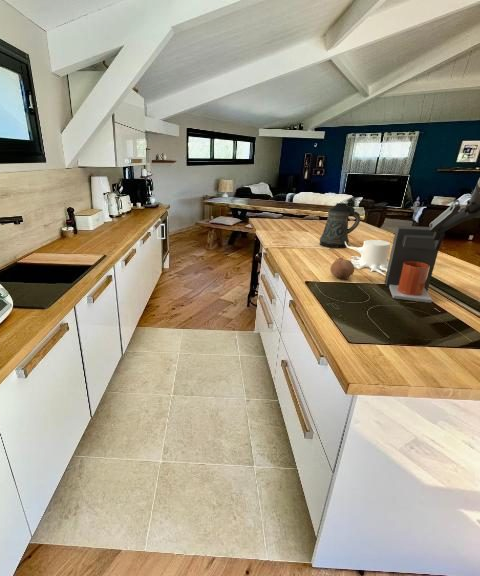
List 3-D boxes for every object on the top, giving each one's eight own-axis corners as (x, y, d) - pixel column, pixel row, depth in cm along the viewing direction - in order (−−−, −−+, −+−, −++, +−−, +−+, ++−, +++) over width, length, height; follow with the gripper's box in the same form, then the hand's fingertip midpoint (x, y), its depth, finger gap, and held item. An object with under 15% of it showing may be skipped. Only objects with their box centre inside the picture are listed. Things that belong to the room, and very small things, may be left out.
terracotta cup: (419, 289, 121) (427, 262, 117) (424, 297, 115) (432, 268, 111) (395, 286, 125) (402, 260, 120) (399, 294, 118) (405, 266, 114)
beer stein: (315, 242, 200) (320, 202, 191) (346, 241, 199) (352, 201, 190) (324, 248, 185) (330, 205, 176) (358, 248, 184) (365, 204, 175)
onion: (332, 281, 143) (329, 260, 144) (355, 278, 139) (351, 256, 140) (331, 281, 134) (328, 258, 135) (356, 277, 130) (352, 254, 131)
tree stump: (332, 265, 155) (335, 243, 151) (352, 253, 174) (356, 233, 169) (395, 277, 137) (401, 252, 133) (411, 263, 155) (416, 240, 151)
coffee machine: (423, 286, 127) (439, 227, 119) (434, 303, 112) (453, 237, 103) (384, 282, 133) (396, 225, 124) (389, 297, 118) (404, 234, 109)
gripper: (433, 199, 77) (414, 255, 93) (578, 192, 66) (528, 257, 82) (430, 179, 80) (412, 236, 96) (567, 170, 70) (521, 236, 86)
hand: (465, 246), depth 89 cm, fingers open, 13 cm apart
